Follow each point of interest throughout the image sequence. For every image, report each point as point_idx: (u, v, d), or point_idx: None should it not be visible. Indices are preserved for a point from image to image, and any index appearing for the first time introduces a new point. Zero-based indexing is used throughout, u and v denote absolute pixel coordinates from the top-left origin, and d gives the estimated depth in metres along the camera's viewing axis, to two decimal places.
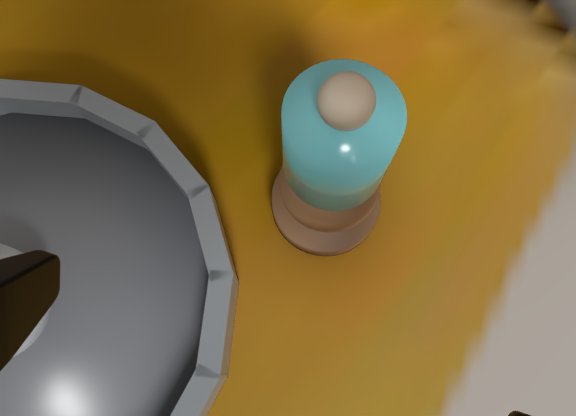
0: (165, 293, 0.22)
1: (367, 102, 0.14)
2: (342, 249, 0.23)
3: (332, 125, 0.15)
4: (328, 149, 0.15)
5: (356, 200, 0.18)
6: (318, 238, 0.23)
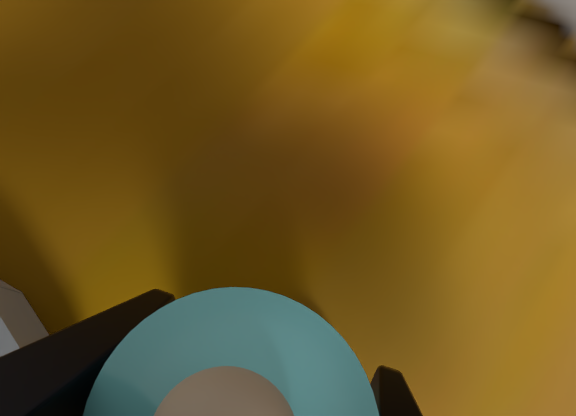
0: None
1: None
2: None
3: None
4: None
5: None
6: None
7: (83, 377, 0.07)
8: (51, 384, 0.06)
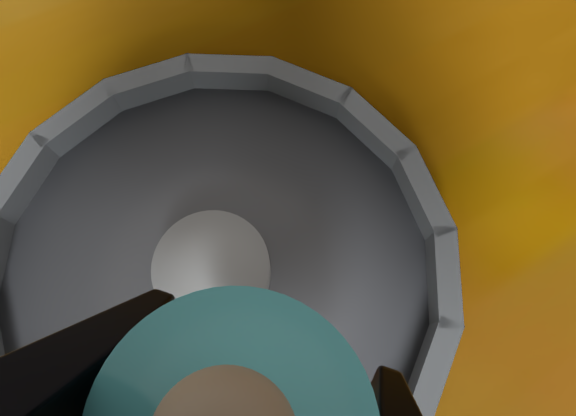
0: (377, 319, 0.22)
1: None
2: None
3: None
4: None
5: None
6: None
7: (83, 377, 0.07)
8: (51, 384, 0.06)
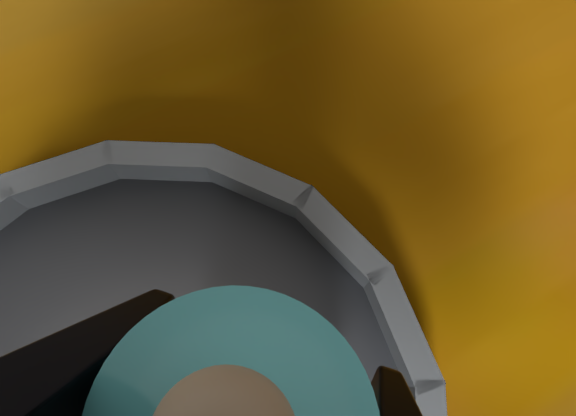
0: None
1: None
2: None
3: None
4: None
5: None
6: None
7: (83, 377, 0.07)
8: (51, 384, 0.06)
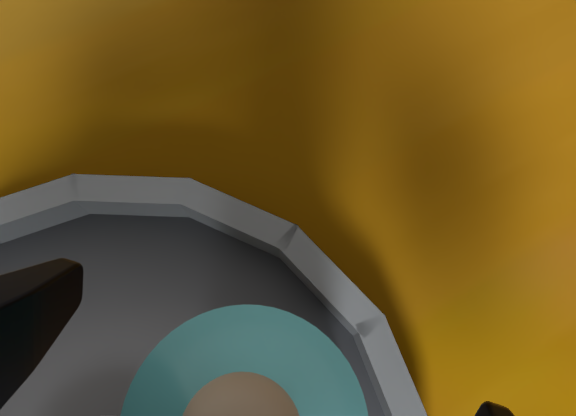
0: None
1: None
2: None
3: None
4: None
5: None
6: None
7: None
8: None
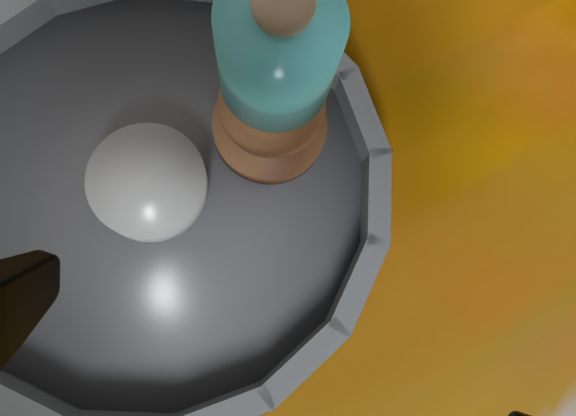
0: (311, 236, 0.22)
1: (304, 4, 0.13)
2: (284, 177, 0.22)
3: (265, 29, 0.13)
4: (261, 57, 0.14)
5: (295, 121, 0.17)
6: (259, 165, 0.22)
7: None
8: None
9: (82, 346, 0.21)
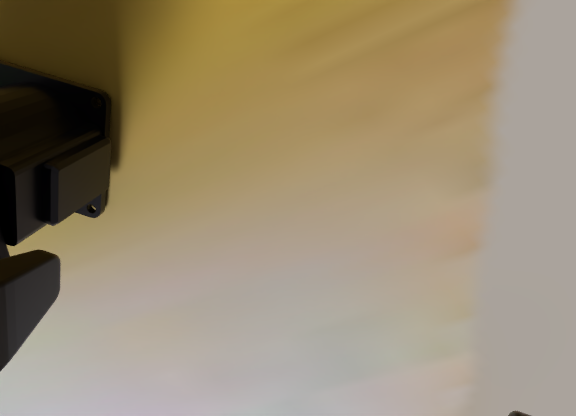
0: None
1: None
2: None
3: None
4: None
5: None
6: None
7: None
8: None
9: None
